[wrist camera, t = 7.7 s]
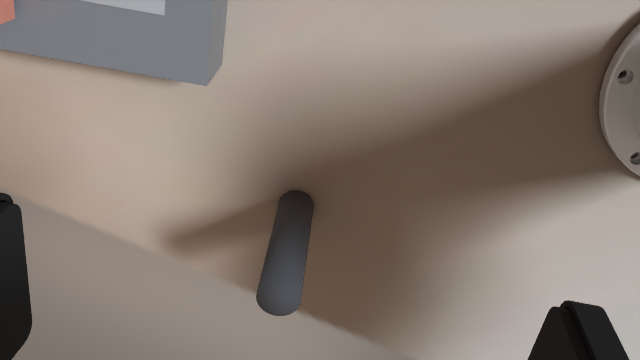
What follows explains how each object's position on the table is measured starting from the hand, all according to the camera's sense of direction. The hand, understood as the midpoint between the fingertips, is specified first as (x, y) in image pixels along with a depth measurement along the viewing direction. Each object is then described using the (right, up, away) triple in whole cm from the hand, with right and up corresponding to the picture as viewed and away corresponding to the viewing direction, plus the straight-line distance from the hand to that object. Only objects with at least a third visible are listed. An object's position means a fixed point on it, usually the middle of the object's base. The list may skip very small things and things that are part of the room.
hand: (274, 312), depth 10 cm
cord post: (-1, +1, +30) cm, 30 cm away
